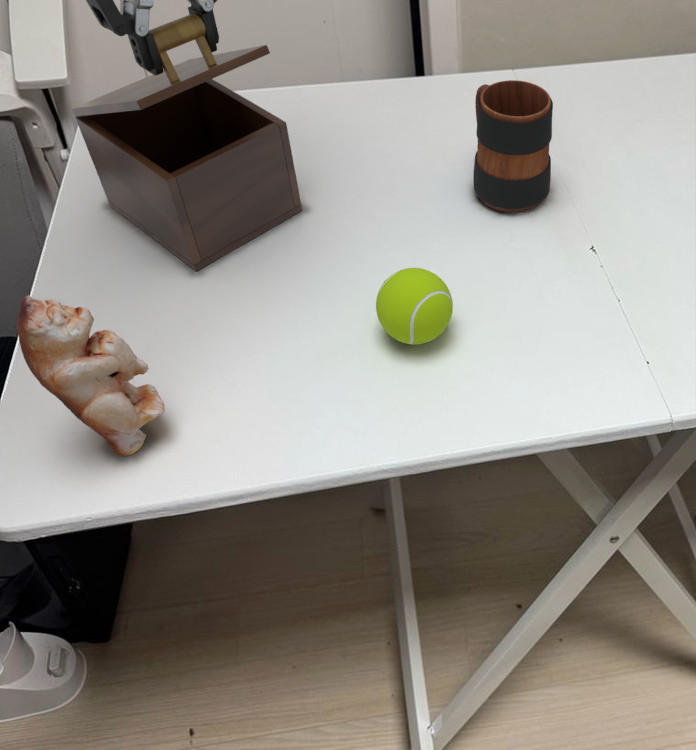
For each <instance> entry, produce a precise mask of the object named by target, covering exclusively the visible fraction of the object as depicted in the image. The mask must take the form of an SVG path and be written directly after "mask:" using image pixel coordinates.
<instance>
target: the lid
mask: <svg viewBox="0 0 696 750" xmlns="http://www.w3.org/2000/svg"><path fill="white" fill-rule="evenodd" d="M149 32H150V33H152V34H153V36H154V40H155V43H156V47H157V50H158V53H159V57H160V60H161V64H162V67H163V71H164V72H163V73H161V74H159V75H156V76H155V75H153V74H151V75H149V76H147V77H144V78H141V79H139V80H137V81H135V82H132V83H129V84H128V85H125V86H123V87H120V88H118V89H115V90H113V91H111V92H108V93H106V94H103V95H100V96H98V97H96V98H94V99H91V100H89V101H86V102H84V103H82V104H79V105H77V106H75V107H72V108H71V109H70V110H71V111H72V113H73V115H74V117H77V116H86V115H96V114H106V113H115V112H125V111H135V110H142V109H144V108H147V107H149V106H151V105H154V104H156V103H158V102H160V101H163V100H165V99H167V98H169V97H172V96H174V95H176V94H179V93H181V92H183V91H185V90H188V89H190V88H192V87H195V86H197V85H199V84H201V83H204V82H206V81H208V80H211V79H213V80H214V79H215V78H217V77H219V76H222V75H224V74H227V73H229V72H231V71H234V70H235V69H238V68H240V67H242V66H245V65H247V64H249V63H251V62H254V61H256V60H258V59H261V58H263V57H265V56H267V55H270V54H271V52H270V50H269V49H270V48H269V47H268V45H267V44H263V45H258V46H253V47H247V48H242V49H237V50H233V51H226V52H221V53H216V54H213V52H211V50H210V48H209V46H208V43H207V41H206V39H205V37H204V35H205V34H206V29H205V26H204V23H203V21H202V20H201V18H200V17H199V16H198V15H197V14H195V13H193V14H187V15H185V16H183V17H180V18H177V19H175V20H172V21H169V22H167V23H164V24H161V25H159V26H156V27H154V28H151V29H149ZM192 41H195V43H196V45H197V47H198V50H199V51H200V54H201V56H200V57H195V58H191V59H190V58H189V59H187V60H185V61H182V62H180V63H177V64H175V65H174V64H173V63H172V60H171V59H170V56H169V54H168V52H167V51H171V50H172V49H175V48H178V47H180V46H183V45H185V44H188V43H189V42H192Z"/></svg>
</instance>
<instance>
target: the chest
mask: <svg viewBox="0 0 696 750" xmlns="http://www.w3.org/2000/svg"><path fill="white" fill-rule="evenodd" d="M74 117H75V116H74ZM75 120H76V123H77V125H78V128H79V130H80V133H81V137H82V138H83V141H84V144H85V146H86V149H87V151H88V154H89V156H90V158H91V161H92V163H93V166H94V169H95V172H96V174H97V176H98V179H99V182H100V184H101V186H102V189H103V191H104V194H105V196H106V197H105V198H106V199H107V201H108V204H109V206H110V207H111V208H112V209H113V210H114V211H116V212H117V213H119V214H120V215H121V216H123V217H124V218H125V219H127V220H128V221H129V222H131V224H133V225H134V226H135V227H137V228H138V229H140V230H141V231H143V232H144V234H146V235H148V236H149V237H150V238H152V239H153V240H154V241H155V242H157V243H158V244H160V245H161V246H162V247H164V248H165V250H167V251H169V252H170V253H171V254H172V255H174V256H175V257H177V258H178V259H179V260H180V261H182V262H183V263H184V264H186V265H187V266H189V267H190V268H191V269H192V270H193V271H195V272H198V271H200V270H202V269H203V268H205V267H207V266H208V265H210V264H212V263H214V262H215V261H218V260H219V259H221V258H222V257H224V256H226V255H228V254H230V253H232V252H233V251H235V250H236V249H238V248H240V247H241V246H243V245H245V244H246V243H248V242H251V241H253V240H254V239H255V238H258V237H259V236H261V235H262V234H264V233H266V232H268V231H269V230H271V229H273V228H274V227H277V226H278V225H280V224H282V223H283V222H285V221H287V220H288V219H290V218H293V217H294V216H295V215H297V214H299V213H301V212H303V206H302V200H301V196H300V190H299V186H298V178H297V173H296V169H295V163H294V158H293V157H294V156H293V153H292V147H291V140H290V135H289V130H288V125H287V122H286V121H285V120H283V119H282V118H280V117H278V116H277V115H275V114H272V112H269V111H268V110H266V109H264V108H263V107H261V106H259V105H258V104H256V103H254V102H253V101H251V100H250V99H247V98H246V97H244V96H242V95H240V94H238V93H237V92H235V91H233V90H232V89H230V88H229V87H227V86H225V85H223V84H222V83H220V82H218V81H217V80H215V79H214V78H213V79H211V80H208V81H206V82H204V83H201V84H199V85H197V86H195V87H192V88H190V89H188V90H185V91H183V92H181V93H179V94H176V95H174V96H172V97H169V98H167V99H165V100H163V101H160V102H158V103H156V104H154V105H151V106H149V107H147V108H144V109H142V110H135V111H125V112H115V113H106V114H96V115H86V116H77V117H75Z"/></svg>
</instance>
